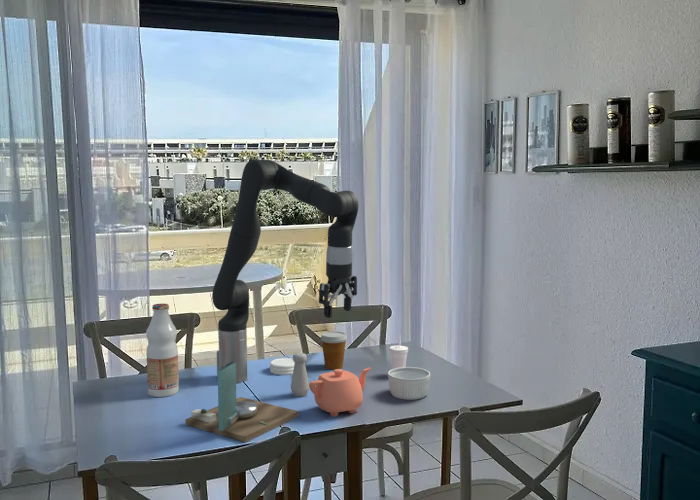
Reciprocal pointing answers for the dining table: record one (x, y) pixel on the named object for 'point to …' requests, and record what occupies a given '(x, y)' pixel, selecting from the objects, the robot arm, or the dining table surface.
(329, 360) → the disposable coffee cup
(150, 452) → the dining table surface
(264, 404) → the wooden cutting board
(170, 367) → the fruit juice
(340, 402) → the teapot
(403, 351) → the smoothie
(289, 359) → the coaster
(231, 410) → the teal flat rectangular slab
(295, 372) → the salt shaker
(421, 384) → the ramekin
